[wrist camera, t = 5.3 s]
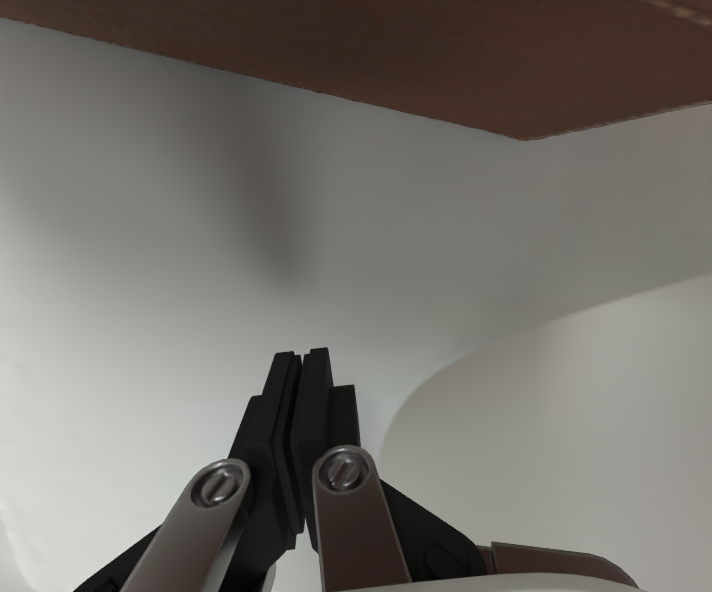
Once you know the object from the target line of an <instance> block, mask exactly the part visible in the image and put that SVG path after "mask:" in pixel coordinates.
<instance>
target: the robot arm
mask: <svg viewBox="0 0 712 592" xmlns="http://www.w3.org/2000/svg"><path fill="white" fill-rule="evenodd" d="M305 518H306V522H307V527H308V531H309V535H310V540H311V544H312V548H313V549H314V550H315V551H316V552H317V553H318V554H319V563H320V573H321V584H322V592H647V591H644V590H641V589H639V588H638V586H637V584H636V583H635V581H634V580H633V579H632V578H631V577H630V576H629V575H627V574H626V573H625V572H624V571H623V570H622V569H621V568H620V567H618V566H617V565H615V564H613V563H612V562H610V561H608V560H607V559H605V558H603V557H599V556H596V555H592V554H589V553H580V552H572V551H565V550H557V549H549V548H540V547H532V546H523V545H516V544H508V543H500V542H491V547H487V546H479V545H475V544H474V543H473V542H472V541H471V540H470V539H468V538H467V537H466V536H465V535H464V534H462V533H461V532H459V531H458V530H456V529H455V528H453V527H452V526H450V525H449V524H447V523H446V522H444V521H443V520H441V519H440V518H438V517H437V516H435V515H434V514H432V513H431V512H429V511H428V510H426V509H425V508H423V507H422V506H420V505H419V504H417V503H416V502H414V501H413V500H411V499H410V498H408V497H406V496H405V495H404V494H402V493H401V492H399V491H398V490H396V489H395V488H393V487H392V486H390V485H389V484H387V483H386V482H384V481H383V480H381V479H380V478H379V476H378V473H377V469H376V466H375V463H374V461H373V459H372V457H371V455H370V454H369V453H368V452H367V451H366V450H364V449H362V448H361V444H360V433H359V422H358V412H357V404H356V395H355V387H354V384H353V385H345V386H336V387H334V385H333V379H332V372H331V365H330V358H329V352H328V348H327V347H325V348H316V349H311V350H310V354H305V355H304V360H303V365H302V360H301V356H300V355H295V354H294V352H293V351H290V352H281V353H276V354H275V356H274V359H273V362H272V365H271V368H270V371H269V374H268V377H267V380H266V383H265V386H264V389H263V392H262V395H257V396H252V397H251V398H250V400H249V403H248V405H247V408H246V411H245V413H244V416H243V419H242V421H241V424H240V427H239V429H238V432H237V434H236V437H235V440H234V442H233V445H232V448H231V450H230V453H229V456H228V458H227V459H222V460H219V461H216V462H213V463H211V464H210V465H208V466H206V467H204V468H203V469H202V470H200V471H199V472H198V473H197V474H196V475H194V477H193V478H192V479H191V480H190V482H189V483H188V484H187V486H186V487H185V489H184V491H183V492H182V494H181V495H180V497H179V498H178V500H177V502H176V503H175V505H174V506H173V508H172V510H171V511H170V513H169V514H168V516H167V517H166V519H165V521H164V522H163V524H161V525H160V526H159V527H157V528H156V529H155V530H153V531H152V532H150V533H149V534H148V535H146V536H145V537H144V538H142V539H141V540H140V541H138V542H137V543H136V544H134V545H133V546H132V547H130V548H129V549H128V550H126V551H125V552H123V553H122V554H121V555H119V556H118V557H117V558H115V559H114V560H113V561H111V562H110V563H109V564H107V565H106V566H105V567H103V568H102V569H101V570H99V571H98V572H97V573H95V574H94V575H92V576H91V577H90V578H88V579H87V580H86V581H85V582H83V583H82V584H81V585H80V586H79V587H78V588H76V589H75V590H74V591H73V592H271V589H272V586H273V582H274V579H275V573H276V561H277V560H278V559H279V558H280V557H281V556H282V555H283V554H284V553H285V552H286V550H292V549H295V545H296V536H297V534H300V533H303V531H304V524H305Z"/></svg>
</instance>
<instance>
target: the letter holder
mask: <svg viewBox="0 0 712 592" xmlns="http://www.w3.org/2000/svg"><path fill="white" fill-rule="evenodd" d="M0 17H2V18H6V19H10V20H14V21H20V22H24V23H30V24H35V25H37V26H41V27H45V28H50V29H55V30H59V31H63V32H66V33H70V34H73V35H77V36H83V37H88V38H93V39H96V40H99V41H105V42H108V43H113V44H116V45H120V46H124V47H130V48H134V49H137V50H141V51H147V52H150V53H153V54H158V55H163V56H168V57H173V58H177V59H181V60H185V61H189V62H194V63H198V64H202V65H206V66H210V67H214V68H218V69H222V70H228V71H230V72H235V73H239V74H243V75H247V76H252V77H256V78H260V79H264V80H268V81H272V82H277V83H281V84H285V85H290V86H294V87H299V88H304V89H308V90H312V91H314V92H317V93H326V94H329V95H334V96H337V97H343V98H346V99H349V100H352V101H356V102H363V103H368V104H372V105H376V106H381V107H385V108H389V109H393V110H398V111H401V112H405V113H409V114H414V115H419V116H424V117H428V118H433V119H438V120H443V121H447V122H452V123H456V124H459V125H463V126H467V127H472V128H477V129H481V130H485V131H489V132H493V133H497V134H501V135H506V136H509V137H511V138H515V139H518V140H520V141H528V140H538V139H543V138H546V137H549V136H555V135H561V134H566V133H570V132H575V131H582V130H588V129H591V128H597V127H602V126H607V125H611V124H615V123H619V122H623V121H629V120H634V119H638V118H643V117H648V116H652V115H656V114H661V113H665V112H670V111H675V110H680V109H685V108H690V107H695V106H700V105H705V104H711V103H712V0H0Z"/></svg>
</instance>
